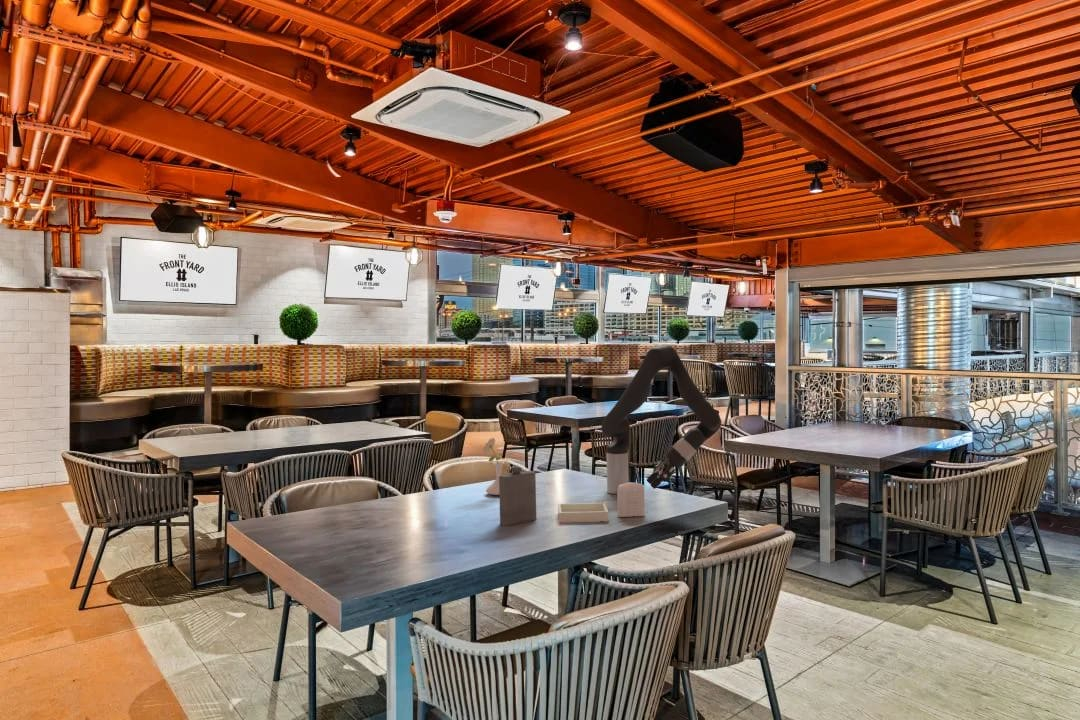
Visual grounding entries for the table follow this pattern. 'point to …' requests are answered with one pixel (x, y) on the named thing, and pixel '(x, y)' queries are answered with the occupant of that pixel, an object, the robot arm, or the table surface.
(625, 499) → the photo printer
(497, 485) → the flower in vase
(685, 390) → the robot arm
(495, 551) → the table surface
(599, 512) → the trough
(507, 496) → the flask
